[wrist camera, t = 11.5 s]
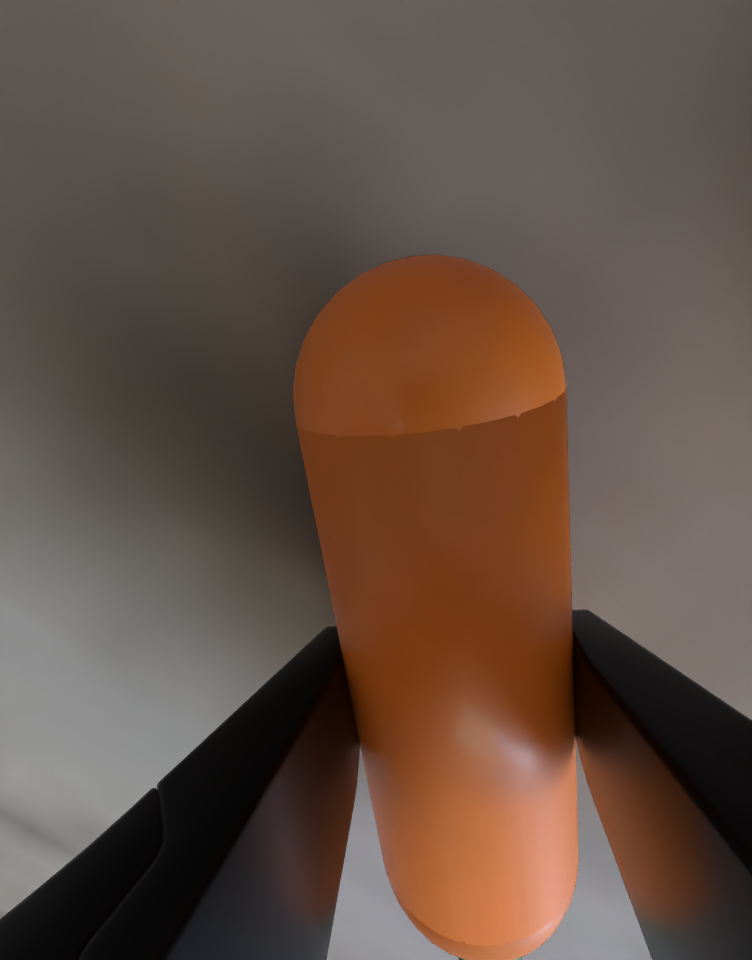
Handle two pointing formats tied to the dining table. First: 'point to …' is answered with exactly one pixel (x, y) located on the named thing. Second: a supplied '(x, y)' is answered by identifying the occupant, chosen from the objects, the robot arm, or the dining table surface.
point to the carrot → (451, 588)
